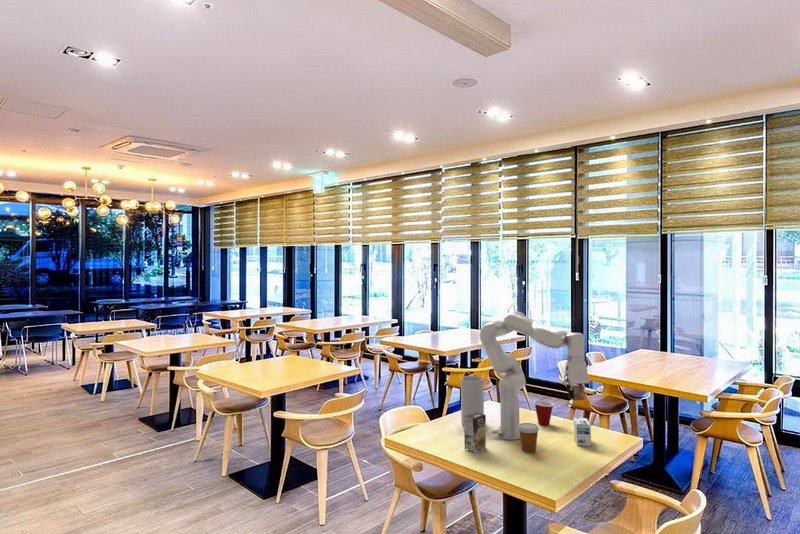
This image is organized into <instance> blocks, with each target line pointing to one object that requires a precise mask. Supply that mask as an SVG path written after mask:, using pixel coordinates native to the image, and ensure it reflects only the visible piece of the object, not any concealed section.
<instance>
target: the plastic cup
mask: <svg viewBox="0 0 800 534" xmlns="http://www.w3.org/2000/svg"><path fill="white" fill-rule="evenodd" d="M533 403H534V406H535V407H534V408H535V412H536V418H537V423H538V425H540V426H543V427H545V426H546V427H547V426H550V423H551V417H552V412H553V408H554V406H555V404H554V403H553V402H550V401H547V400H546V401H545V400H535V401H533Z"/></svg>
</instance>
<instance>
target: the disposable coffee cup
mask: <svg viewBox="0 0 800 534" xmlns="http://www.w3.org/2000/svg"><path fill="white" fill-rule="evenodd" d="M518 429H519V432H520V439H519V440H520V446H521V452H522V453H526V454H535V453H536V451H537V444H538V434H539V430H540V428H539V426H538V425H537V424H536V423H532V422H522V423H521V422H520V423H519V427H518Z"/></svg>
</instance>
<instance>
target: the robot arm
mask: <svg viewBox="0 0 800 534" xmlns="http://www.w3.org/2000/svg"><path fill="white" fill-rule="evenodd" d="M479 331H480V332H479V339H480V342H481V345H482V346H483V349H484V351H485V352H486V355H487V358H488V360H489V362H490V364H491V366H492V369H493V370H494V372H495V373H497V374H504V375H503V376H502V377H501V378H500V379H499V381H498V391H499V399H500V400H499V404H500V407H499V408H500V426H498V428H497V429H492V431H491V432H492V435H494V434H495V435H496V434H497V437H498V438H500V439H502V438H503V440H509V441H516V440H521V439H520V432H519V429H518V427H519V424H520V398H519V395H518V392H519V391H521V390H522V389H523V388H525V386H526V383H527V382H526V376H525V374H524V372H523V370H522V367H521V366H520V364H519V361H518V360H517V358H516V356H514V355H513V354H512V353H510V352H504V350H503V348H502V345H501V343H500V342H499V341H498V340H497V338H499V337H502V336H503V337H504V336H506V335H507V334H510V333H512V332H518V333H519V334H522V335H525V336H527V337H530V338H531V339H532V340H533V341H535V342H536V343H538V344H540V345H543V346H544V347H548V348H550V349H555V350H557V349H560V348H564V347H566V348H567V353H566V354H567V355H566V357H565V361H566V363H565V369H564V370H565V371H564V379H562V381H561V384H562V385H563V386H564V387H565V388H566V389H567V395H568V396H567V397H569V398H571V399H570V400H572V399H574V390H573V386H574V385H580V386H582V387H584V390H585V389H586V387H587V386H588V384H589V383H590V379H589V375H588V374H589V373H588V366H587V362H586V361H585V336H584V334H583V333H581V332H569V331H565V330H559V331H558V330H557V331H555V332H553V331H550V330H547V329H545V328H542V326H540V325H539V322H538V321H537V320H535V319H531V318H530V317H526V315H525V314H524V313H523V312H522V311H512V312H508V313H507V314H505V316H504V317H503V318H501V319H497V320H492V321H489V322H486V323H485V324H484V325H483V326H482V327H481V329H480V330H479ZM570 385H571V386H570ZM569 398H568V399H569Z"/></svg>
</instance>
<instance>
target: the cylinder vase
mask: <svg viewBox="0 0 800 534" xmlns="http://www.w3.org/2000/svg"><path fill="white" fill-rule="evenodd" d="M484 394H485V393H484V377H481V376H471V375H470V376H462V377H460V410H461V412H460V413H461V414H460V417H461V418H460V419H461V421H460V422H461V424H462V425H464V416H466V415H469V414H473V413H480V414H484V415H485V413H484V411H485V410H484V409H485V404H484V403H485V402H484V401H485V400H484V398H485V397H484Z"/></svg>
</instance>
